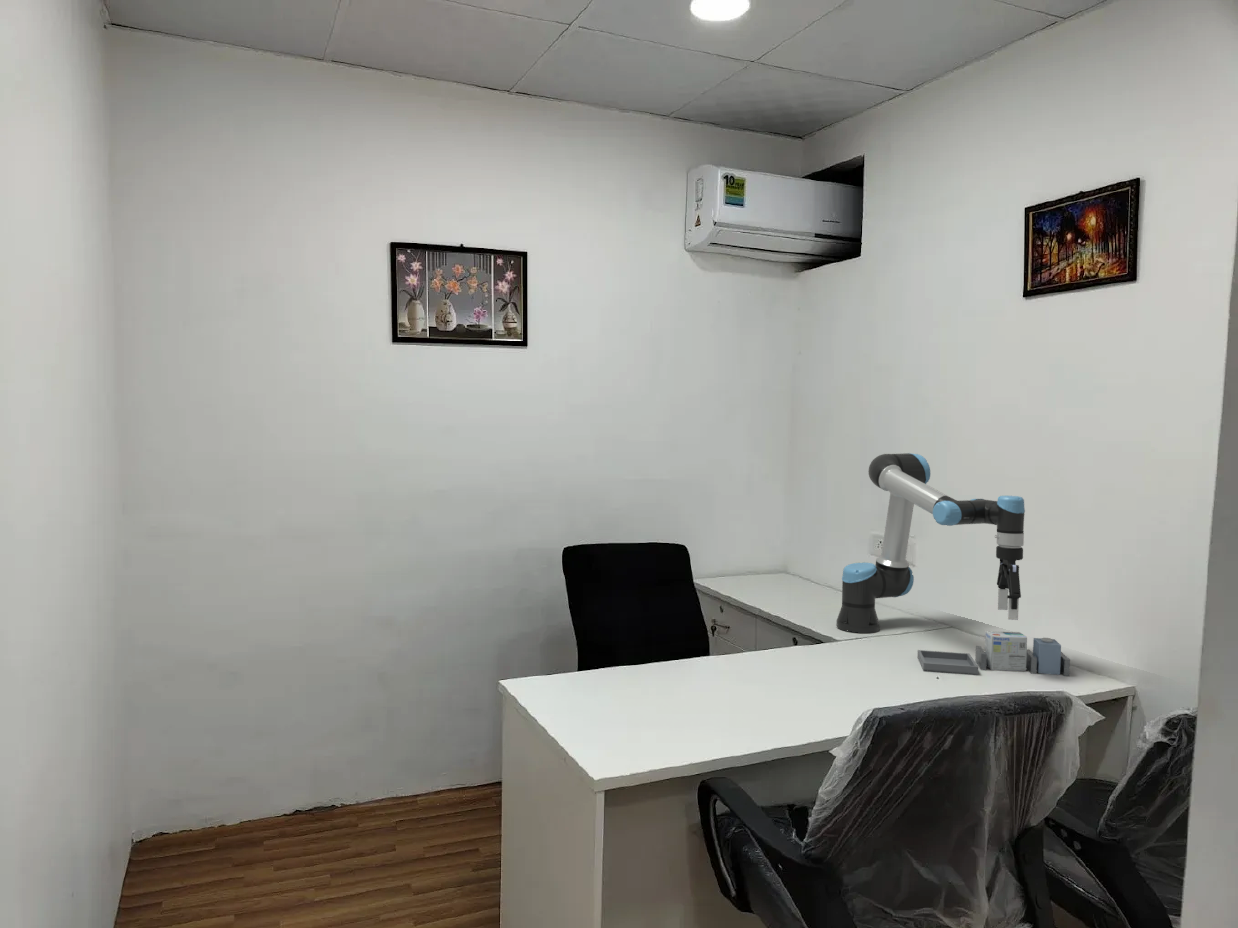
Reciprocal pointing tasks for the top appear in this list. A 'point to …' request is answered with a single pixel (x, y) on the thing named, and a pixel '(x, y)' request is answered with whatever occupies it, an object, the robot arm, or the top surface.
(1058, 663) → the cartridge
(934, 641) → the top surface
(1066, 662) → the rack
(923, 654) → the tray
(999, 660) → the light bulb box
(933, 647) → the top surface
